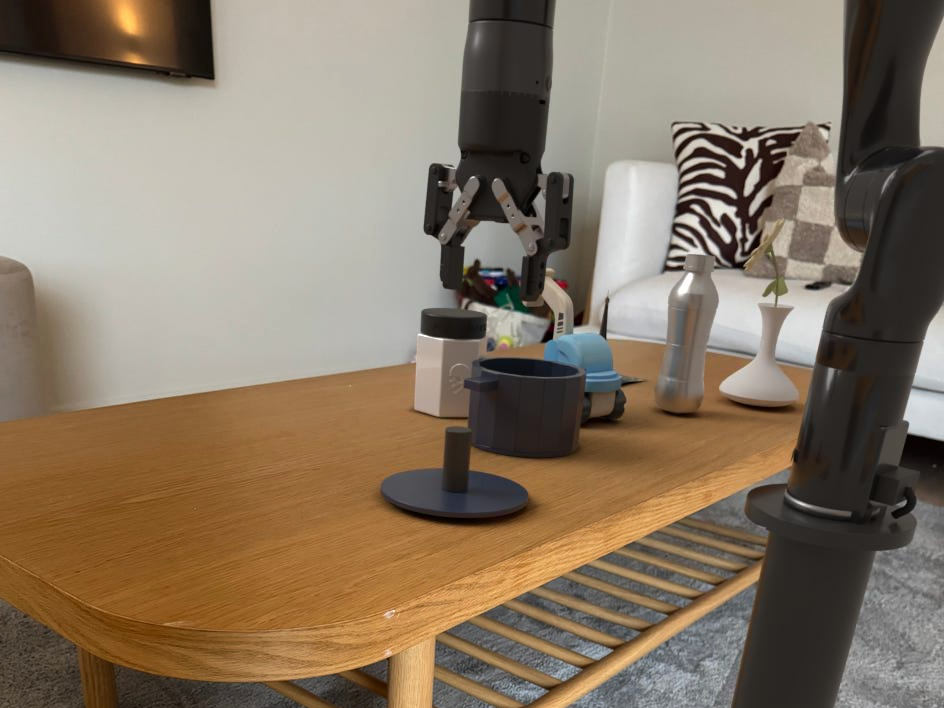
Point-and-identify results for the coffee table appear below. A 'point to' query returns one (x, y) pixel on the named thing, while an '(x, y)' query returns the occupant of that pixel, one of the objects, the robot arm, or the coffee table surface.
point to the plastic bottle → (687, 337)
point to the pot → (525, 406)
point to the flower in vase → (765, 346)
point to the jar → (447, 359)
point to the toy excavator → (582, 355)
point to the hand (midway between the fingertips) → (489, 294)
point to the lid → (454, 485)
